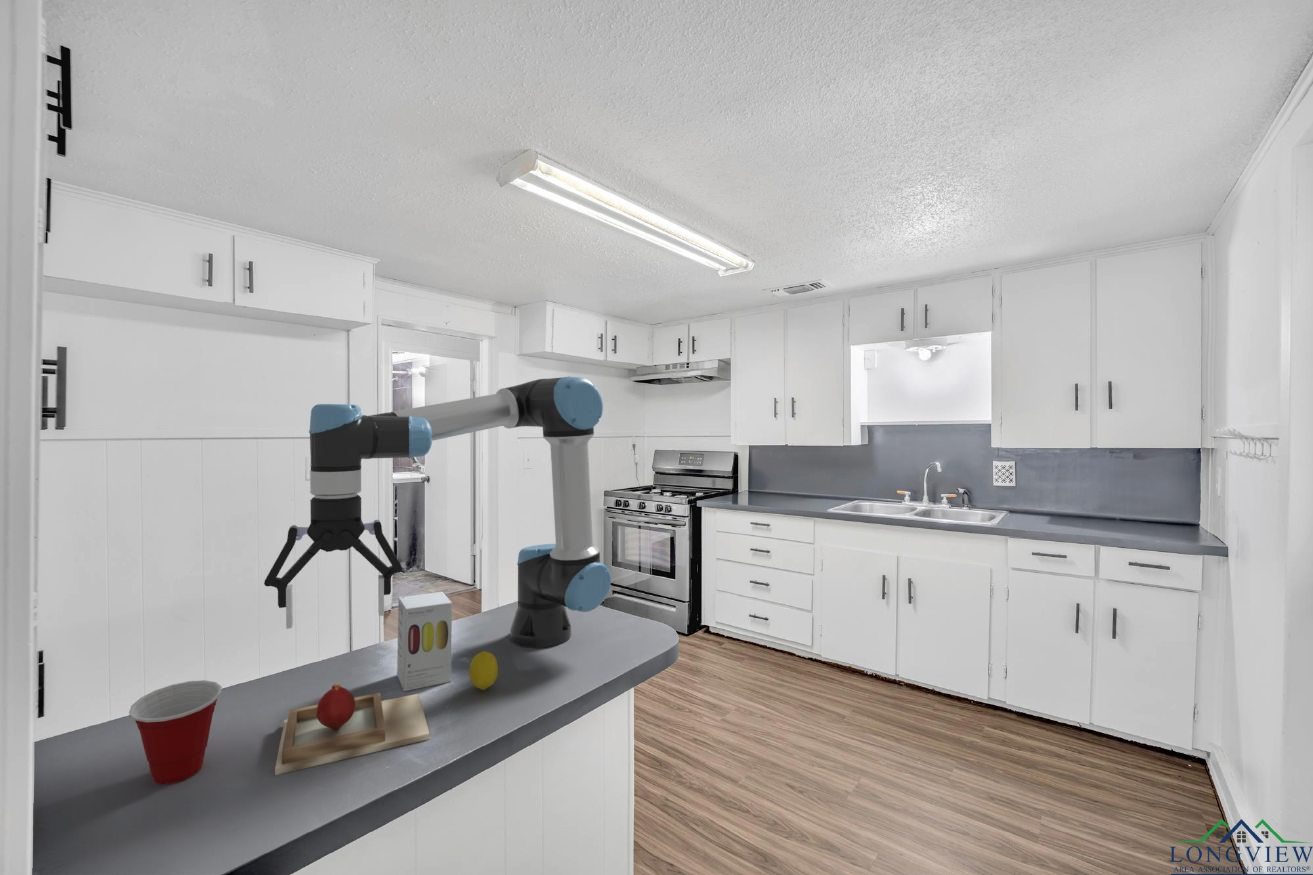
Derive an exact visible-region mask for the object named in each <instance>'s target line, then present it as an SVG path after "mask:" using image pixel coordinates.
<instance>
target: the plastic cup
mask: <svg viewBox="0 0 1313 875" xmlns="http://www.w3.org/2000/svg"><path fill="white" fill-rule="evenodd" d="M221 694H222V685H220V683H218V682H216V681H211V680H205V679H204V680H188V681H184V682H179V683H174V684H169V685H167V686H164V687H161V688H158V689H155V690H152V692H149V693H148V694H145V695H143V696H142V697H140V698H139V699H137V700H136V701H135V702H134V703H132V704H131V706H130V709H129V711H128V714H129V716H130V717H131V718H132V719H133V720H134V722H135V724H136V727H137V728H138V730H139V733H140V739H141V741H142V746H143V750H144V754H145V758H146V761H147V762H148V767H149V771H150V775H151V776H150V777H151V778H152V779H153V782H154V783H155V784H157V785H172V784H175V783H179V782H180V783H181V782H182V781H185V780H187V779H190V778H191V777H193V776H196V774H198V773H199V772H200V770H201V769H202V767H203V765H204V759H205V754H206V748H207V747H208V742H209V737H210V731H211V726H212V721H213V715H214V712H215V708H216V705H217V701H218V699H219V698H220V697H221Z"/></svg>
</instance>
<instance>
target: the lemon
mask: <svg viewBox="0 0 1313 875" xmlns="http://www.w3.org/2000/svg"><path fill="white" fill-rule="evenodd" d="M498 674H499V665H498V662H497V658H496V657H495V655H494V654H493V653H491V652H489V651H486V650H483V651H481V652H479V653H478V654H476V655H475V656H473V659H472V660H471V662H470V666H469V674H468V675H469V679H470V682H471V684H472V685H473V687H476V688H477V689H480V690H481V691H486V690H487V689H488V688H490V687H491V686H492V685H493V684H494V683H495V682H496V681H497V678H498Z"/></svg>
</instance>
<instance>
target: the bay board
mask: <svg viewBox="0 0 1313 875" xmlns="http://www.w3.org/2000/svg"><path fill="white" fill-rule="evenodd" d="M354 699H355V710H354V713H353V715H352V717H351V718H350V719H349V720H348V721H347V722H346V723H345V724H344V725H343V726H342V727H341V728H339V729H338V730H332V729H330V728H328V727H326V726H324V725H322V724H321V723H320V722H319V720H318V719H317V715H316V713H317V706H318V704H313V705H308V706H302V707H298V708H292V709H291V708H290V709H289V712H288V717H287V719H284V721H283V727H282V730H281V731H282V732H281V736H280V737H281V738H280V742H279V746H278V753H277V757H276V763H275V767H274V774H275V775H274V776H278V775H282V774H285V773H286V774H287V773H290V772H295V771H299V770H303V769H308V768H312V767H316V766H320V765H321V766H322V765H325V764H329V763H335V762H338V761H341V760H347V759H350V758H355V757H359V756H363V755H367V754H372V753H377V752H380V751H384V750H388V749H394V748H398V747H402V746H406V745H409V744H414V743H420V742H423V741H428V740H430V731H429V727H428V723H427V720H426V716H425V712H424V708H423V705H422V701H421V697H420V693H415V694H410V695H405V696H404V695H403V696H399V697H394V698H390V699H389V698H388V699H384V700H382V696H381V692H376V693H370V694H365V695H361V696H355V697H354Z"/></svg>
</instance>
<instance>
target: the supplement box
mask: <svg viewBox="0 0 1313 875" xmlns="http://www.w3.org/2000/svg"><path fill="white" fill-rule="evenodd" d="M397 603H398V604H397V605H398V607H397V608H398V609H397V610H398V615H397V653H396V654H397V656H396V658H397V659H396V660H397V662H396V663H397V664H396V665H397V666H396V668H397V669H396V676H397V678H398V681H399V683H400V685H401V687H402V688H401V689H402V691H403V692H407V691H413V690H419V689H421V688H426V687H432V686H436V685H441V684H445V683H450V682H451V680H452V674H451V673H452V636H453V635H452V633H453V630H452V629H453V628H452V627H453V602H452V600H450V598H449V597H448V596H447V595H446V594H445V593H444V592H443V591H438V592H430V593H422V594H415V595H414V594H413V595H407V596H398V602H397Z"/></svg>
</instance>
